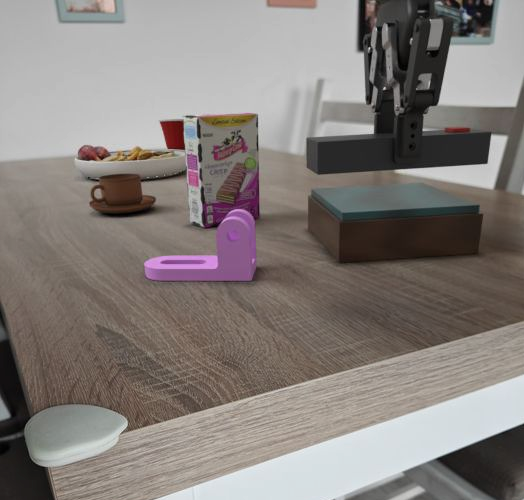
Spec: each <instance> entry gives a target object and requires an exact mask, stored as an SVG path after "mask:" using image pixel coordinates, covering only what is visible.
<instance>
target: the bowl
mask: <svg viewBox="0 0 524 500" xmlns="http://www.w3.org/2000/svg"><path fill="white" fill-rule="evenodd" d="M74 164H75V168H76V169H77V171H78V172H79V173H80V174H81V175H82V176H84V177H85V176H86V178H88V177H91V178H90V180H96V181H99V179H95V178H99V177H101V176H106V175H113V174H139V175H140V177H141V181H144V180H154V179H161V178H168V177H172V176H176V175H179V174H181V173H183V172H185V171H186V159H185V150H174V149H167V148H150V149H149V148H147V149H144V148H143V149H142V148H141V147H140V146H138V145H135V146H134V147H133V148H132V149H126V150H125V149H124V150H112V151H109V150H108V149H107V148H106V147H104V146H99V145H97V146H93V145H90V144H84V145H82V146H81V147H80V148H79V149H78V150H77V156H76V157H74ZM182 171H183V172H182ZM179 172H180V173H179ZM175 173H176V174H175ZM170 174H171V175H170ZM164 175H165V176H164ZM156 176H158V177H156ZM147 177H149V178H147Z"/></svg>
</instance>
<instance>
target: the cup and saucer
mask: <svg viewBox="0 0 524 500" xmlns="http://www.w3.org/2000/svg"><path fill="white" fill-rule="evenodd" d="M98 182H99V184H95V185H93V186H92V187H91V189H90V194H89V195H90V198H91V200H90V201H89V203H88V205H89V207H90V208H91V209H92V210H94V211H96V212H99V213H104V214H114V215H115V214H116V215H117V214H119V215H120V214H121V215H122V214H131V213H137V212H140V211H144V210H147V209H150V208H151V207H153V206H154V205H155V203H156V202H157V197H155V196H153V195H149V194H143V188H142V180H141V177H140V175H139V174H113V175H106V176H101V177H99V180H98ZM99 189H100V195H101V197H100V198H97V197H96V196H95V191H97V190H99Z"/></svg>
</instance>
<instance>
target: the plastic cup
mask: <svg viewBox="0 0 524 500" xmlns="http://www.w3.org/2000/svg"><path fill="white" fill-rule="evenodd" d="M157 121H158V122H159V124H160V127H161V131H162V133H163V134H162V135H163V139H164V142H165V146H166V149H174V150H185V146H184V131H183V118H170V119H158V120H157Z"/></svg>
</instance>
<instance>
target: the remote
mask: <svg viewBox="0 0 524 500" xmlns="http://www.w3.org/2000/svg"><path fill="white" fill-rule="evenodd" d="M492 133H493V132H492V131H490V130H489V131H487V130H481V129H473V128H471V127H469V126H468V127H467V126H449V127H444V129H433V130H432V129H431V130H423V132H422V145H421V158H420V161H419V162H418V163H416V164H405V165H398V164H396V163H394V162H393V159H392V157H393V139H394V138H393V136H394V133H378V134H374V133H364V134H363V133H361V134H345V135H327V136H326V135H325V136H310V137H306V138H305V140H306V141H305V143H306V145H305V146H306V150H305V152H306V158H305V159H306V169H308V170H309V171H310V172H313V173H314V174H316V175H317V176H320V175H321V176H322V175H335V174H336V175H337V174H352V173H353V174H355V173H366V172H367V173H369V172H383V171H399V170H400V171H401V170H415V169H416V170H417V169H429V168H430V169H431V168H433V169H434V168H446V167H462V166H463V167H464V166H476V165H478V166H479V165H487V164H489V154H490V149H491V140H492Z"/></svg>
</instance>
